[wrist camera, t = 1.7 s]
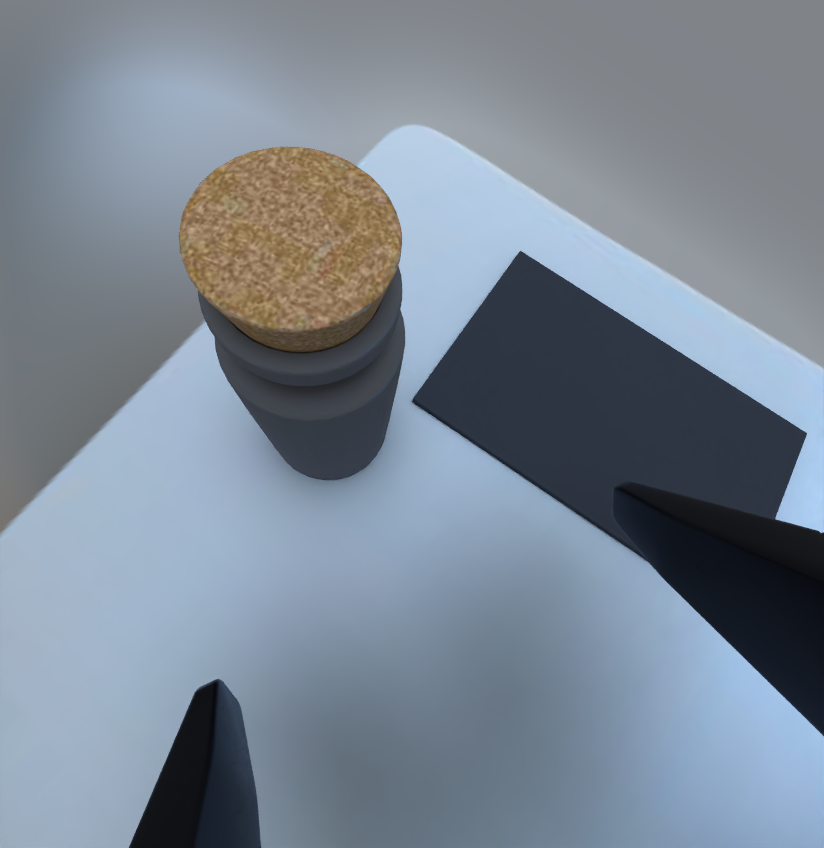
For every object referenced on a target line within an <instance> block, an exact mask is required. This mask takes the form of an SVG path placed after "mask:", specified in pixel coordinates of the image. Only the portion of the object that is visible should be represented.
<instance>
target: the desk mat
mask: <svg viewBox="0 0 824 848" xmlns="http://www.w3.org/2000/svg"><path fill="white" fill-rule="evenodd" d="M413 402H414V403H415V404H417V405H418V406H420V407H421V408H423V409H424V410H426V411H427V412H429V413H430V414H431V415H433V416H434V417H436V418H437V419H439V420H440V421H442V422H443V423H445V424H446V425H448V426H449V427H451V428H452V429H454V430H455V431H457V432H458V433H460V434H461V435H463V436H464V437H466V438H467V439H469V440H470V441H471V442H473V443H474V444H476V445H477V446H479V447H480V448H482V449H483V450H485V451H486V452H488V453H489V454H491V455H492V456H494V457H495V458H497V459H498V460H500V461H501V462H503V463H504V464H506V465H507V466H508V467H510V468H511V469H513V470H514V471H516V472H517V473H519V474H520V475H522V476H523V477H525V478H526V479H528V480H529V481H531V482H532V483H534V484H535V485H537V486H538V487H540V488H541V489H543V490H544V491H545V492H547V493H548V494H550V495H551V496H553V497H554V498H556V499H557V500H559V501H560V502H562V503H563V504H565V505H566V506H568V507H569V508H571V509H572V510H574V511H575V512H577V513H578V514H580V515H581V516H583V517H584V518H585V519H587V520H588V521H590V522H591V523H593V524H594V525H596V526H597V527H599V528H600V529H602V530H603V531H605V532H606V533H608V534H609V535H611V536H612V537H614V538H615V539H617V540H618V541H620V542H621V543H622V544H624V545H625V546H627V547H628V548H630V549H631V550H633V551H634V552H636V553H637V554H639V555H640V556H642V557H643V558H645V557H644V556H643V555H642V553H641V552H640V551H639V550H638V549H637V547H636V546H635V545H634V544H633V543H632V541H631V540H630V539H629V538H628V537H627V535H626V534H625V533H624V532H623V531H622V530H621V528H620V527H619V526H618V525H617V523H616V522H615V520H614V518H613V516H612V491H613V489H614V487H616V486H618V485H620V484H622V483H624V482H626V481H635V482H638V483H642V484H646V485H649V486H653V487H657V488H661V489H664V490H668V491H672V492H675V493H679V494H683V495H687V496H690V497H694V498H698V499H701V500H705V501H709V502H713V503H716V504H720V505H724V506H727V507H731V508H735V509H739V510H742V511H746V512H750V513H753V514H757V515H761V516H765V517H768V518H772V519H775V517H776V514H777V512H778V509H779V506H780V504H781V501H782V498H783V496H784V493H785V491H786V488H787V485H788V483H789V480H790V477H791V475H792V472H793V469H794V467H795V464H796V461H797V459H798V456H799V453H800V451H801V448H802V445H803V443H804V440H805V437H806V435H807V433H806V432H804V431H802V430H801V429H799V428H798V427H796V426H795V425H793V424H791V423H790V422H788V421H787V420H785V419H784V418H782V417H780V416H779V415H777V414H776V413H774V412H773V411H771V410H769V409H768V408H766V407H765V406H763V405H762V404H760V403H758V402H757V401H755V400H754V399H752V398H751V397H749V396H748V395H746V394H744V393H743V392H741V391H740V390H738V389H737V388H735V387H733V386H732V385H730V384H729V383H727V382H726V381H724V380H722V379H721V378H719V377H718V376H716V375H715V374H713V373H711V372H710V371H708V370H707V369H705V368H704V367H702V366H700V365H699V364H697V363H696V362H694V361H693V360H691V359H689V358H688V357H686V356H685V355H683V354H682V353H680V352H678V351H677V350H675V349H674V348H672V347H671V346H669V345H667V344H666V343H664V342H663V341H661V340H660V339H658V338H656V337H655V336H653V335H652V334H650V333H649V332H647V331H645V330H644V329H642V328H641V327H639V326H638V325H636V324H634V323H633V322H631V321H630V320H628V319H627V318H625V317H624V316H622V315H620V314H619V313H617V312H616V311H614V310H613V309H611V308H609V307H608V306H606V305H605V304H603V303H602V302H600V301H598V300H597V299H595V298H594V297H592V296H591V295H589V294H587V293H586V292H584V291H583V290H581V289H580V288H578V287H576V286H575V285H573V284H572V283H570V282H569V281H567V280H565V279H564V278H562V277H561V276H559V275H558V274H556V273H554V272H553V271H551V270H550V269H548V268H547V267H545V266H543V265H542V264H540V263H539V262H537V261H536V260H534V259H532V258H531V257H529V256H528V255H526V254H525V253H523V252H521V251H520V252H519V253H518V255H517V256H516V257H515V259H514V260H513V262H512V263H511V264H510V266H509V267H508V269H507V270H506V271H505V273H504V274H503V275H502V277H501V278H500V280H499V281H498V282H497V284H496V285H495V286H494V288H493V289H492V291H491V292H490V293H489V295H488V296H487V297H486V299H485V300H484V302H483V303H482V304H481V306H480V307H479V309H478V310H477V311H476V313H475V314H474V315H473V317H472V318H471V320H470V321H469V322H468V324H467V325H466V326H465V328H464V329H463V331H462V332H461V333H460V335H459V336H458V338H457V339H456V340H455V342H454V343H453V344H452V346H451V347H450V349H449V350H448V351H447V353H446V354H445V355H444V357H443V358H442V360H441V361H440V362H439V364H438V365H437V367H436V368H435V369H434V371H433V372H432V373H431V375H430V376H429V378H428V379H427V380H426V382H425V383H424V384H423V386H422V387H421V389H420V390H419V391H418V393H417V394H416V395H415V397H414V398H413ZM645 559H646V558H645ZM646 560H647V559H646Z"/></svg>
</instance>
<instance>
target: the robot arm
mask: <svg viewBox="0 0 824 848" xmlns="http://www.w3.org/2000/svg"><path fill="white" fill-rule="evenodd" d="M612 516H613V518H614V520H615V522H616V523H617V525H618V526H619V527H620V528H621V530H622V531H623V532H624V533H625V534H626V535H627V537H628V538H629V539H630V540H631V541H632V543H633V544H634V545H635V546H636V547H637V549H638V550H639V551H640V552H641V553H642V555H643V556H644V557H645V558H646V559H647V560H648V562H649V563H650V564H651V565H652V566H653V568H654V569H655V570H656V571H657V572H658V573H659V574H660V575H661V576H662V578H663V579H664V580H665V581H666V582H667V583H668V584H669V585H670V586H671V587H672V588H673V589H674V590H675V591H676V592H677V593H679V594H680V595H681V596H682V597H683V598H684V599H685V600H686V601H687V602H688V603H689V604H690V605H691V606H692V607H693V608H694V609H695V610H696V611H697V612H698V613H699V614H700V615H701V616H702V617H703V618H704V619H705V620H706V621H707V622H708V623H709V624H710V625H711V626H712V627H713V628H714V629H715V630H716V631H717V632H718V633H719V634H720V635H721V636H722V637H723V638H724V639H725V640H726V641H727V642H728V643H729V644H730V645H732V646H733V647H734V648H735V649H736V650H737V651H738V652H739V653H740V654H741V655H742V656H743V657H744V658H745V659H746V660H747V661H748V662H749V663H750V664H751V665H752V666H753V667H754V668H755V669H756V670H757V671H758V672H759V673H760V674H761V675H762V676H763V677H764V678H765V679H766V680H767V681H768V682H769V683H770V684H771V685H772V686H773V687H774V688H775V689H776V690H777V691H778V692H779V693H780V694H781V695H782V696H783V697H785V698H786V699H787V700H788V701H789V702H790V703H791V704H792V705H793V706H794V707H795V708H796V709H797V710H798V711H799V712H800V713H801V714H802V715H803V716H804V717H805V718H806V719H807V720H808V721H809V722H810V723H811V724H812V725H813V726H814V727H815V728H816V729H817V730H818V731H819V732H820V733H821V734H822V735H823V736H824V533H820V532H819V531H817V530H813V529H809V528H805V527H802V526H798V525H794V524H791V523H787V522H783V521H779V520H776V519H772V518H768V517H765V516H761V515H757V514H753V513H750V512H746V511H742V510H739V509H735V508H731V507H727V506H724V505H720V504H716V503H713V502H709V501H705V500H701V499H698V498H694V497H690V496H687V495H683V494H679V493H675V492H672V491H668V490H664V489H661V488H657V487H653V486H649V485H646V484H642V483H638V482H635V481H626V482H624V483H622V484H620V485H618V486H616V487H614V489H613V491H612ZM129 848H261V842H260V828H259V814H258V803H257V795H256V788H255V782H254V777H253V771H252V766H251V760H250V755H249V749H248V744H247V738H246V733H245V727H244V722H243V716H242V711H241V707H240V705H239V702H238V701H237V699H236V698H235V696H234V695H233V694H232V693H231V691H230V690H229V689H228V688H227V686H226V685H225V684H224V682H223V681H222V680H220V679H216V680H214V681H212V682H210V683H207V684H205V685H203V686H201V687H200V688H198V689H197V690H196V692H195V693H194V696H193V698H192V700H191V703H190V705H189V707H188V710H187V712H186V714H185V717H184V719H183V721H182V724H181V726H180V729H179V731H178V733H177V736H176V738H175V740H174V743H173V745H172V747H171V750H170V752H169V754H168V757H167V759H166V762H165V764H164V766H163V769H162V771H161V773H160V776H159V778H158V780H157V783H156V785H155V787H154V790H153V792H152V795H151V797H150V799H149V802H148V804H147V806H146V809H145V811H144V813H143V816H142V818H141V820H140V823H139V825H138V828H137V830H136V832H135V835H134V837H133V839H132V842H131V844H130V846H129Z"/></svg>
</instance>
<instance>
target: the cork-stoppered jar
mask: <svg viewBox="0 0 824 848" xmlns="http://www.w3.org/2000/svg"><path fill="white" fill-rule="evenodd" d="M179 242H180V253H181V257H182V260H183V262H184V265H185V268H186V270H187V273H188V275H189V278H190V279H191V281H192V282H193V283H194V285H195V286H196V288H197V289H198V296H199V302H200V306H201V310H202V313H203V316H204V318H205V321H206V323H207V325H208V327H209V329H210V331H211V332H212V334H213V335H214V337H215V347H216V353H217V356H218V359H219V363H220V366H221V368H222V370H223V372H224V374H225V376H226V378H227V380H228V382H229V383H230V385H231V386H232V387H233V389H234V390H235V392H236V393H237V395H238V396H239V398H240V399H241V401H242V402H243V404H244V405H245V407H246V408H247V410H248V411H249V412H250V414H251V415H252V416H253V418H254V419H255V421H256V422H257V423H258V425H259V426H260V428H261V429H262V430H263V432H264V433H265V434H266V436H267V437H268V439H269V440H270V441H271V443H272V444H273V445H274V447H275V448H276V449H277V451H278V452H279V453H280V454H281V456H282V457H283V458H284V459H285V461H286V462H287V463H288V464H290V465H291V466H292V467H293V468H294V469H295V470H297V471H299V472H301V473H303V474H305V475H307V476H309V477H313V478H316V479H323V480H333V479H341V478H345V477H348V476H351V475H353V474H355V473H357V472H359V471H360V470H362V469H363V468H365V467H366V466H367V465H368V464H369V463H370V462H371V461H372V460H373V459H374V458H375V456H376V455H377V453H378V451H379V450H380V448H381V446H382V444H383V441H384V438H385V434H386V431H387V427H388V423H389V419H390V414H391V410H392V406H393V401H394V397H395V393H396V389H397V384H398V379H399V375H400V370H401V365H402V359H403V353H404V347H405V327H404V321H403V317H402V313H401V310H400V307H401V302H402V280H401V273H400V270H399V267H398V264H399V261H400V256H401V247H402V232H401V227H400V223H399V220H398V216H397V213H396V211H395V209H394V207H393V205H392V203H391V201H390V199H389V197H388V196H387V194H386V193H385V192H384V190H383V189H382V188H381V186H380V185H379V184H378V183H377V182H376V181H375V180H374V179H373V178H372V177H371V176H370V175H368V174H367V173H365V172H364V171H363V170H361V169H360V168H358V167H357V166H355V165H354V164H352V163H350V162H348V161H347V160H345V159H343V158H340V157H338V156H335V155H332V154H329V153H326V152H323V151H319V150H315V149H309V148H301V147H276V148H269V149H263V150H259V151H253V152H250V153H247V154H244V155H241V156H239V157H236V158H234V159H232V160H230V161H229V162H227V163H225V164H224V165H222V166H220V167H218V168H217V169H215V170H214V171H213V172H212V173H211V174H210V175H209V176H207V178H205V179H204V180H203V181H202V182H201V183H200V184H199V186H198V187H197V189H196V190H195V191H194V193H193V194H192V196H191V197H190V199H189V201H188V203H187V204H186V206H185V209H184V212H183V215H182V219H181V225H180V232H179Z"/></svg>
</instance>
